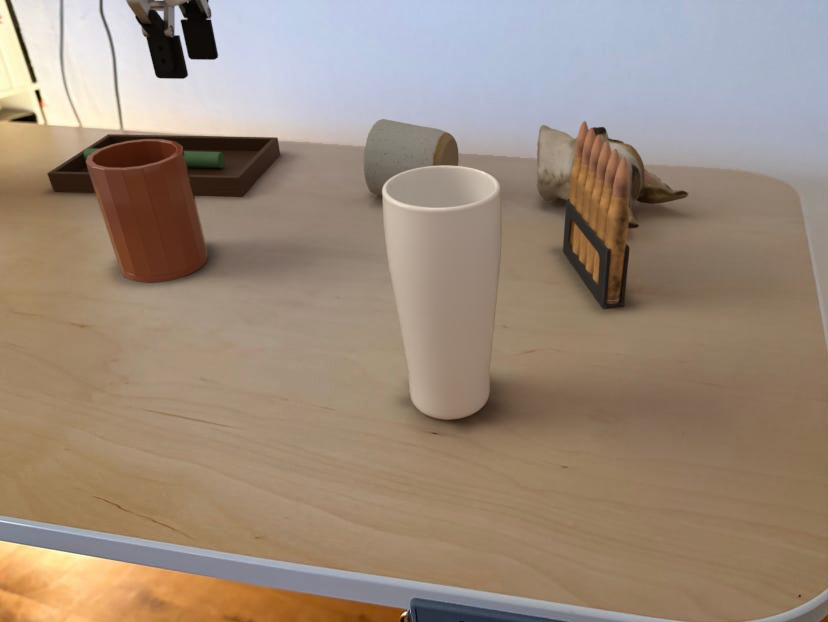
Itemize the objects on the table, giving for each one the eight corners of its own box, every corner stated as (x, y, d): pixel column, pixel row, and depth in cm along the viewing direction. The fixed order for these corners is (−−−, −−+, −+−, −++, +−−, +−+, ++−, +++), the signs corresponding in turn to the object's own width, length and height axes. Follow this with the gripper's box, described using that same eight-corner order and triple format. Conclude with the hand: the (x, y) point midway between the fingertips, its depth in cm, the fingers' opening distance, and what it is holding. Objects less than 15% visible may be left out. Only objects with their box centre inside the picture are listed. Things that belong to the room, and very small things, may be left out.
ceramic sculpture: (573, 97, 78) (703, 134, 70) (565, 175, 83) (685, 219, 75) (508, 122, 71) (644, 167, 64) (504, 206, 76) (629, 256, 69)
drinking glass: (405, 369, 53) (388, 163, 45) (501, 370, 53) (502, 164, 44) (393, 430, 48) (371, 209, 39) (500, 432, 47) (501, 210, 39)
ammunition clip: (562, 250, 68) (570, 118, 61) (581, 248, 69) (591, 117, 62) (602, 309, 60) (617, 162, 53) (624, 306, 60) (641, 160, 53)
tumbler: (105, 280, 64) (67, 168, 59) (144, 243, 70) (114, 138, 65) (188, 283, 64) (158, 170, 58) (220, 245, 70) (196, 139, 64)
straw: (225, 150, 85) (87, 122, 85) (219, 155, 83) (78, 127, 83) (226, 188, 87) (91, 160, 87) (220, 193, 86) (83, 166, 86)
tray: (242, 196, 80) (238, 177, 78) (53, 191, 81) (46, 173, 80) (280, 154, 90) (277, 137, 89) (113, 150, 92) (107, 134, 91)
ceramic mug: (440, 214, 75) (437, 137, 71) (365, 205, 77) (358, 130, 73) (471, 178, 84) (470, 108, 79) (402, 171, 86) (398, 102, 81)
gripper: (148, -135, 76) (188, 49, 86) (53, -130, 62) (114, 89, 72) (219, -135, 76) (251, 49, 86) (140, -130, 62) (189, 90, 72)
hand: (188, 66), depth 79 cm, fingers open, 7 cm apart
